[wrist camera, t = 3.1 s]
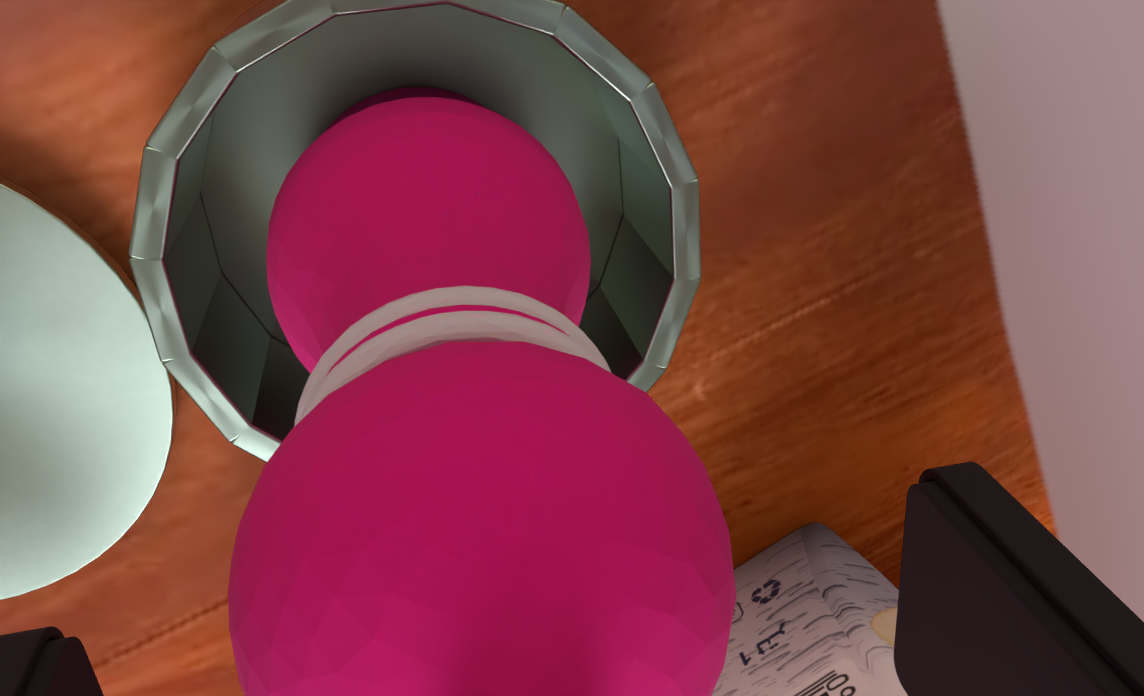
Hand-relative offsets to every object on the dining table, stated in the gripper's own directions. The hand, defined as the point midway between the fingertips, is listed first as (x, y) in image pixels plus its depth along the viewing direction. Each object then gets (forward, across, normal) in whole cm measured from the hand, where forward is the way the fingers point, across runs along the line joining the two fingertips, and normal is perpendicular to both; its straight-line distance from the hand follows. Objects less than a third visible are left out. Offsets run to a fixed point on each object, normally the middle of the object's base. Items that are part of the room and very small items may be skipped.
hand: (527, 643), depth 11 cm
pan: (+17, +1, 0) cm, 17 cm away
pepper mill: (+17, +1, 0) cm, 17 cm away
